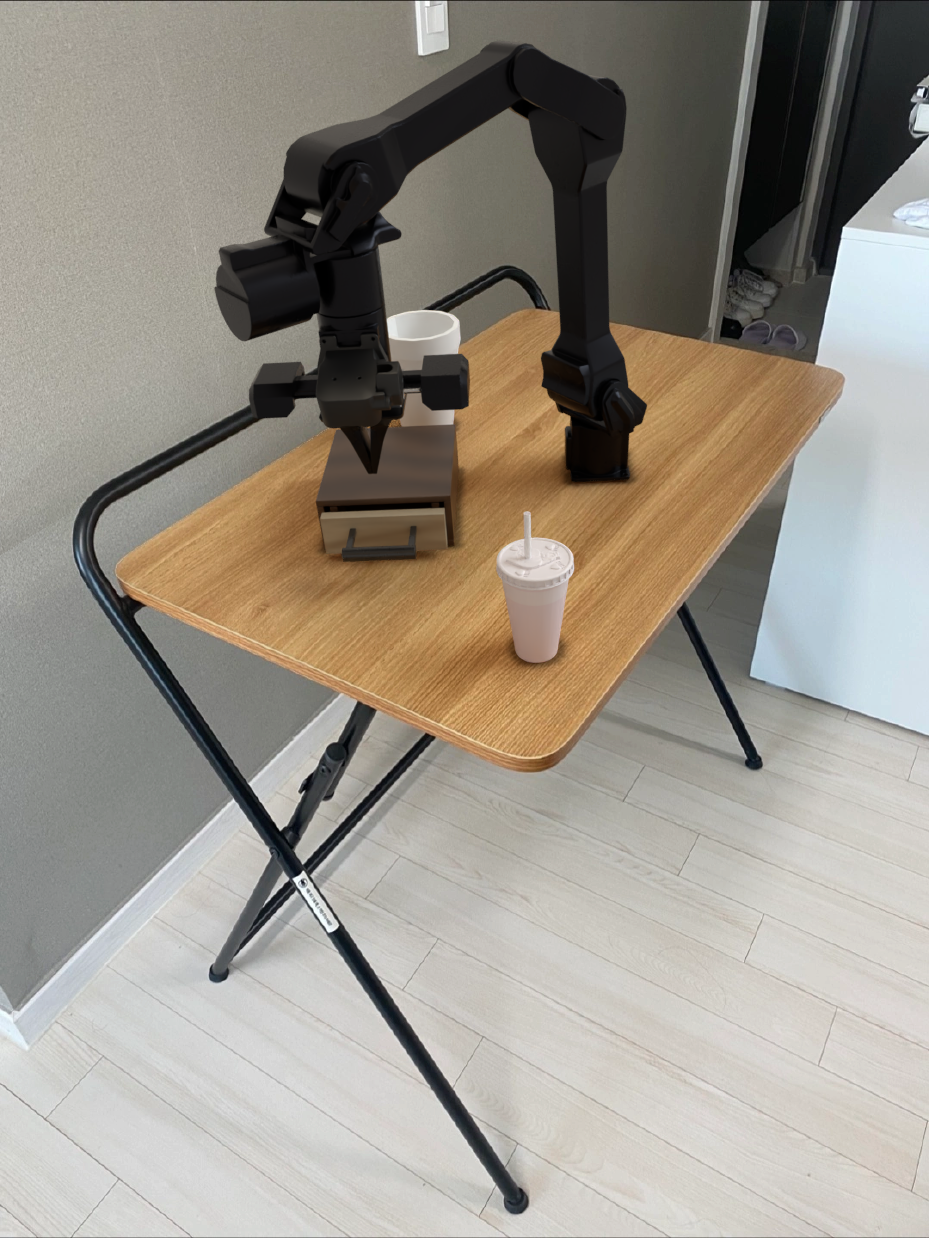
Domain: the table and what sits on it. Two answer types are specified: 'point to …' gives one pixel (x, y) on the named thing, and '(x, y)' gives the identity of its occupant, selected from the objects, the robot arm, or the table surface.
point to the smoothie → (535, 592)
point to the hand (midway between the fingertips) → (373, 472)
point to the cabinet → (396, 472)
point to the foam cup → (422, 355)
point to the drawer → (384, 531)
